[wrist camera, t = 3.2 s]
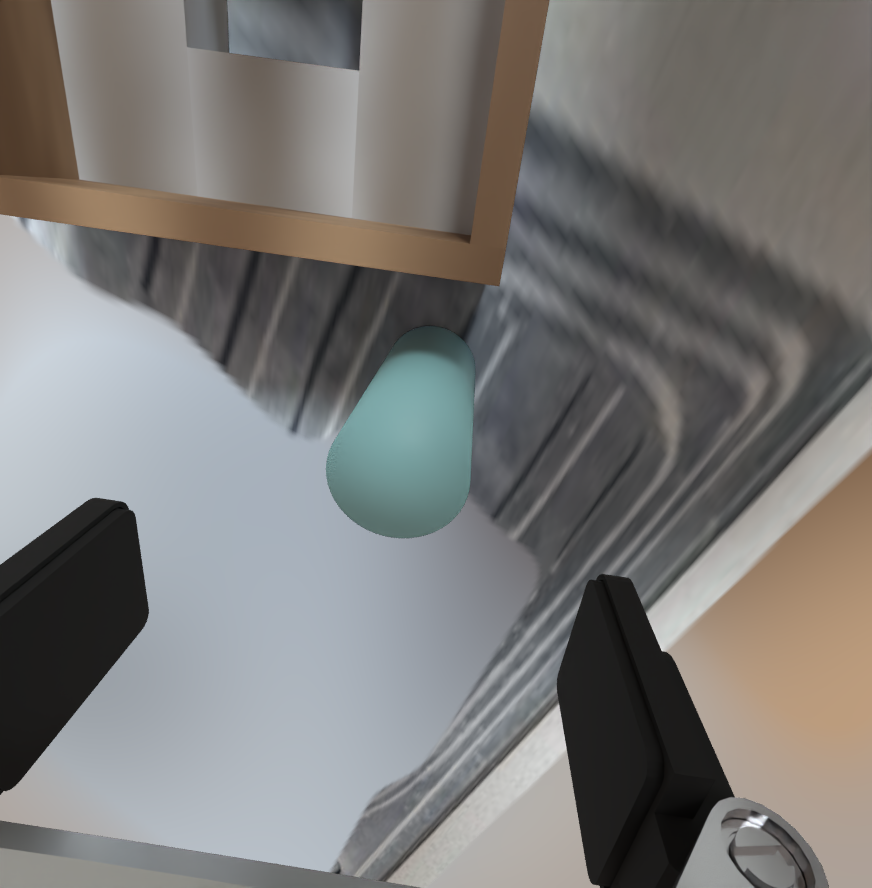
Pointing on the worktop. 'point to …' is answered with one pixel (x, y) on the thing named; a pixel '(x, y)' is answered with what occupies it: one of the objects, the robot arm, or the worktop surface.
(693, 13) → the worktop surface
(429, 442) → the peg
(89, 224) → the box
